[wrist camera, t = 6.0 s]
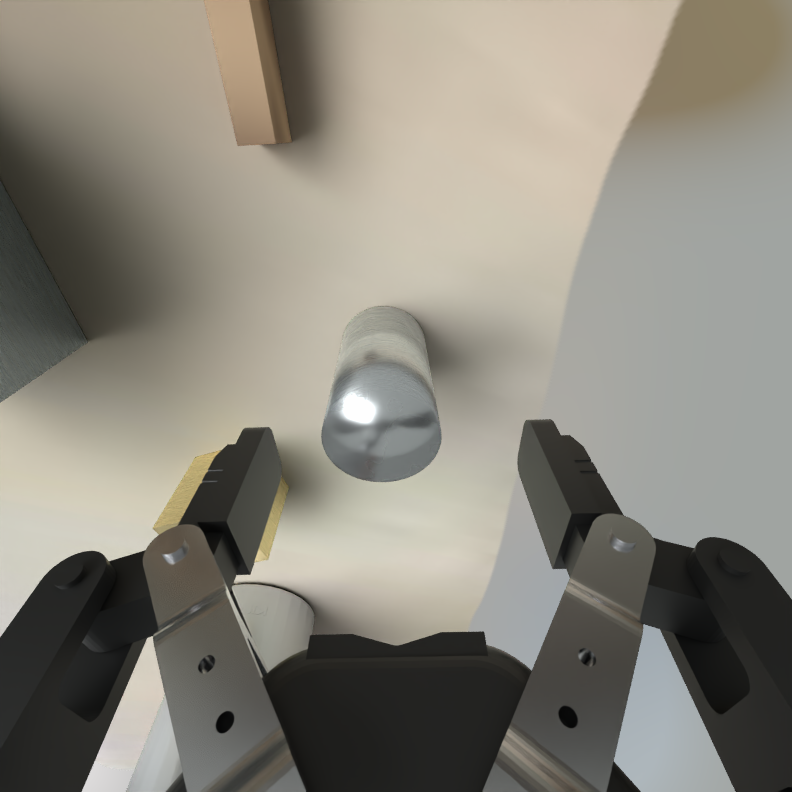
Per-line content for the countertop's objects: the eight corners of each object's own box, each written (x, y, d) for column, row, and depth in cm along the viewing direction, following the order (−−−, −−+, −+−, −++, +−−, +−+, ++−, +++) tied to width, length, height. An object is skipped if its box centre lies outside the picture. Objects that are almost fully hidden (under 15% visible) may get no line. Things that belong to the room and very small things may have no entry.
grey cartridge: (425, 378, 20) (440, 479, 14) (347, 382, 20) (330, 484, 14) (424, 303, 18) (442, 386, 12) (337, 308, 18) (311, 393, 12)
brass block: (288, 486, 24) (268, 559, 20) (232, 500, 25) (200, 573, 21) (257, 440, 22) (226, 510, 18) (195, 456, 23) (152, 528, 19)
